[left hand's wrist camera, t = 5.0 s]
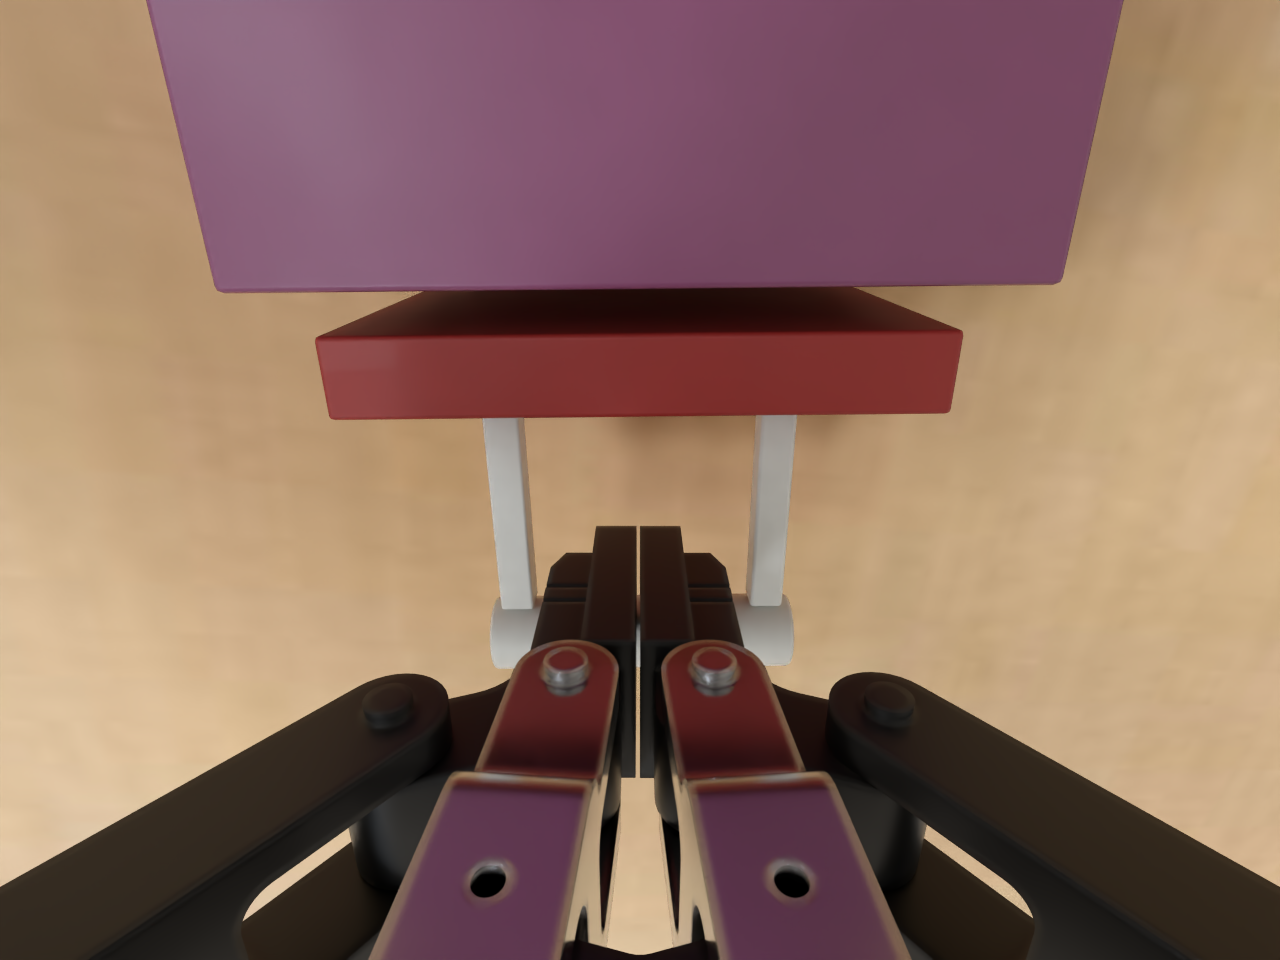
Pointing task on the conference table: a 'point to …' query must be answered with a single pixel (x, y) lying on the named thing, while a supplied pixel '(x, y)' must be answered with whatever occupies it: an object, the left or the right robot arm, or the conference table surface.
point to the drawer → (640, 395)
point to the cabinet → (634, 140)
